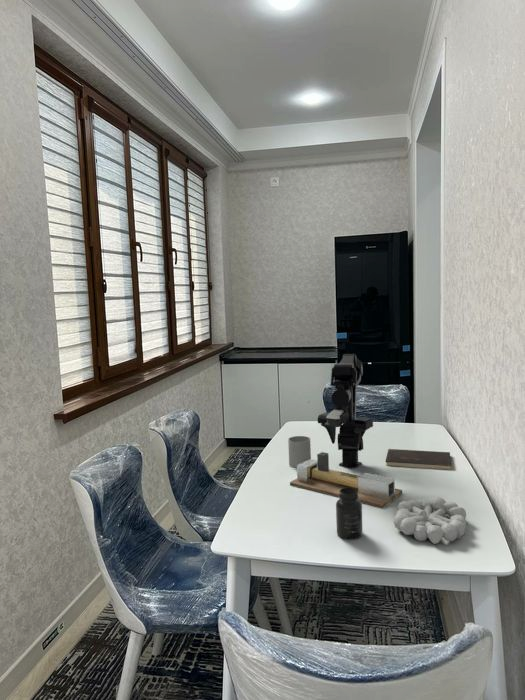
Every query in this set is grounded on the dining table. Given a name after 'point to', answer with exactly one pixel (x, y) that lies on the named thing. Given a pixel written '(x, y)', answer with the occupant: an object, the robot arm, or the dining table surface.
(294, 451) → the cup
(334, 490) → the board
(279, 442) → the dining table surface
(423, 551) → the dining table surface
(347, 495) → the supplement bottle
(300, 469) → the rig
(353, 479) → the brass t-shaped handle
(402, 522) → the campfire
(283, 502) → the dining table surface
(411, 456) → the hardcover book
